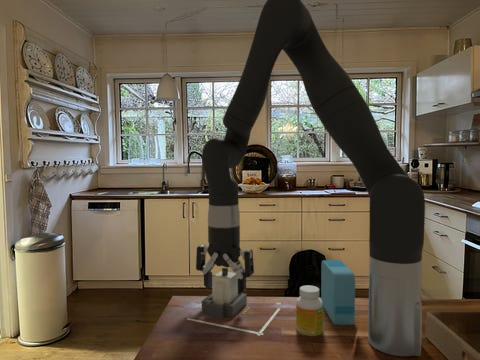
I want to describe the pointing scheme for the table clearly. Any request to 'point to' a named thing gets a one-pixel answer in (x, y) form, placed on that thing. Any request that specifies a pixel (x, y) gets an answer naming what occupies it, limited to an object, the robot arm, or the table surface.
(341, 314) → the data package
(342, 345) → the table surface
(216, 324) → the header board
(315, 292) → the supplement bottle
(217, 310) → the frame
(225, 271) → the plug
